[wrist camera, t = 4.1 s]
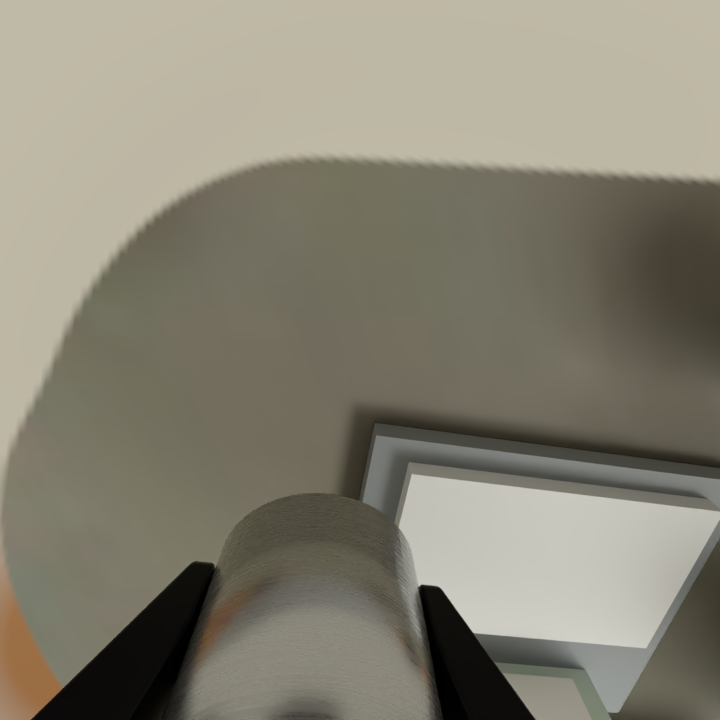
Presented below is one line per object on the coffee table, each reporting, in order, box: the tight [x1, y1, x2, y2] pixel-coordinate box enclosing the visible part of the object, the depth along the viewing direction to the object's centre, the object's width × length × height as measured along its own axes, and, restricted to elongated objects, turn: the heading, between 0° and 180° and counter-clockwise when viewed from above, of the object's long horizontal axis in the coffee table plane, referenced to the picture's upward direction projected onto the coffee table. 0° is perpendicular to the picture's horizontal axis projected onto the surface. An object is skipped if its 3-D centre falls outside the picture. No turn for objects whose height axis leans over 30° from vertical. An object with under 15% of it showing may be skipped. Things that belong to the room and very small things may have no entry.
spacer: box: [161, 493, 443, 720], centre depth 7 cm, size 4×4×4 cm
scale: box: [359, 423, 720, 720], centre depth 18 cm, size 16×15×5 cm
